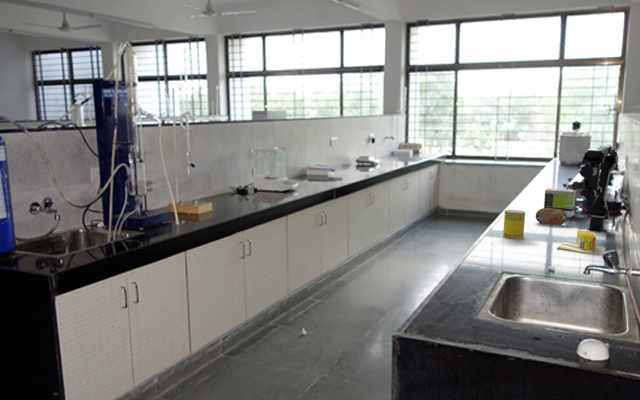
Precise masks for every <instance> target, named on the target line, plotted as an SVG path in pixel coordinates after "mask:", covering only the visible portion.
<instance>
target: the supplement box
mask: <svg viewBox="0 0 640 400" xmlns="http://www.w3.org/2000/svg"><path fill="white" fill-rule="evenodd" d="M576 243H577V244H578V246H579V248H580V249H588V250H594V251H595V250H596V249H595V247H596V246H597V236H596V234H595V233H594V231H592V230H577V234H576ZM596 248H597V247H596Z"/></svg>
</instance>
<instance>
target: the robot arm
mask: <svg viewBox="0 0 640 400" xmlns="http://www.w3.org/2000/svg"><path fill="white" fill-rule="evenodd" d="M618 163H619V155H618V152H617V151H616V150H614V149H613V146H611V145H599V147H597V148H596V149H595V148H594V149H592V148H591V149H590V148H588V149H587V150H586V151H585V152H584V156H583V158H582V162H581V164H582V165H584V166H582V167H581V168H580V170H579V175H580V176H581V177H582V178H583V180H581V181H577V180H575V181H573V182H572V183H571V185H570V186H571V187H570V188H572V189H571V190H573V191H574V190H576V191H577V190H580V192H579V196H581V197H584V198H585V200H586V204H587V209H586V210H587V211H586V212H587V213H586V214H587V216H586V217H587V218H590V220H589V227H587V228H586V230H587V231H592V232H596V233H597V232H598V233H600V232H606V231H607V229H606V228H605V222H606V220H610V214H609V212H610V211H609V209H608V205H607V201H606V196H607V191H608V186H609V181H610V177H611V173H612V172H613V171H614V170H615V169H616V168H617V165H618Z"/></svg>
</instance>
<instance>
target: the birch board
mask: <svg viewBox="0 0 640 400" xmlns="http://www.w3.org/2000/svg"><path fill="white" fill-rule="evenodd" d="M556 249H557V250H561V249H562V251H567V250H568V251H569V252H575V253H580V254H581V253H582V254H586V255H591V254H592V253H593V252H594V251H595V250H596V249H597V245H596V247H595V250H588V249H580V248H579V246H578V244H577V242H576V243H575V242H568V241H564V242H562V243H561V244H560V245H559V246H557V248H556Z"/></svg>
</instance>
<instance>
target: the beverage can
mask: <svg viewBox="0 0 640 400" xmlns="http://www.w3.org/2000/svg"><path fill="white" fill-rule="evenodd" d="M525 219H526V211H524V210H519V209H506V210H504V217H503V233H502V236H503V237H504V238H507V239H512V240H513V239H514V240H515V239H516V240H517V239H518V240H519V239H520V238H521V239H523V238H524V235H525V234H524V232H525V222H526V221H525ZM521 239H520V240H521Z"/></svg>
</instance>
